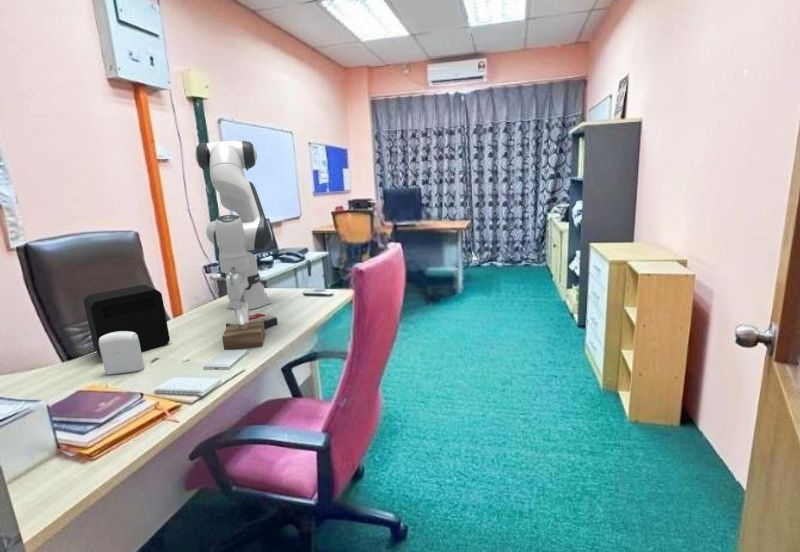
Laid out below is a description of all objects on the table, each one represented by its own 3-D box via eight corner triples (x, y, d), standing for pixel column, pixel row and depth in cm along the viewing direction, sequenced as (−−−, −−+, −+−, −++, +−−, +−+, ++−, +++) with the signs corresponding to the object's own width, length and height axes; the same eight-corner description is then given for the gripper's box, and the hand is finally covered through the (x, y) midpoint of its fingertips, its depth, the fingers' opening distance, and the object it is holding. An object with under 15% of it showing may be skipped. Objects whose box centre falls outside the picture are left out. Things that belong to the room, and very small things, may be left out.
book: (277, 315, 164) (244, 325, 152) (278, 326, 165) (245, 337, 153) (258, 312, 170) (225, 321, 158) (259, 322, 171) (226, 333, 159)
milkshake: (249, 324, 150) (245, 297, 148) (252, 329, 145) (248, 300, 143) (235, 327, 148) (231, 299, 146) (238, 331, 143) (233, 302, 141)
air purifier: (158, 335, 160) (148, 282, 156) (171, 344, 150) (161, 288, 145) (93, 351, 146) (81, 295, 142) (103, 363, 136) (89, 302, 132)
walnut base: (229, 338, 152) (227, 325, 151) (265, 334, 154) (263, 321, 153) (224, 351, 140) (221, 336, 139) (262, 346, 143) (260, 332, 142)
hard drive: (224, 349, 139) (202, 366, 127) (248, 349, 138) (229, 366, 126) (225, 354, 139) (203, 371, 127) (249, 354, 138) (229, 371, 126)
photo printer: (103, 376, 126) (94, 336, 124) (110, 370, 130) (101, 331, 128) (141, 372, 128) (133, 332, 125) (146, 366, 132) (139, 327, 129)
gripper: (240, 270, 132) (246, 313, 135) (248, 259, 152) (253, 296, 155) (218, 272, 131) (225, 316, 134) (229, 260, 150) (234, 298, 153)
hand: (240, 305), depth 144 cm, fingers open, 8 cm apart
